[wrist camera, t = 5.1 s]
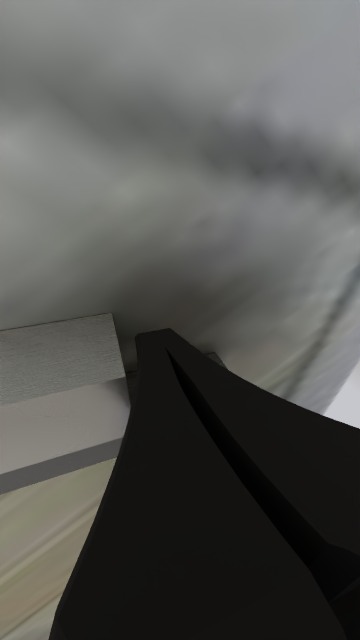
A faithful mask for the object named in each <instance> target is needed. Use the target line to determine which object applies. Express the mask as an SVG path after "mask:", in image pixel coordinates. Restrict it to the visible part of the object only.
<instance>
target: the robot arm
mask: <svg viewBox="0 0 360 640" xmlns="http://www.w3.org/2000/svg"><path fill="white" fill-rule="evenodd" d="M135 341H136V350H137V358H138V365H137V376H136V383H135V389H134V395H133V400H132V405H131V410H130V414H129V418H128V422H127V426H126V429H125V433H124V436H123V440H122V443H121V446H120V450H119V453H118V456H117V459H116V462H115V465H114V468H113V471H112V474H111V476H110V479H109V482H108V485H107V487H106V490H105V493H104V495H103V498H102V501H101V503H100V506H99V509H98V511H97V514H96V517H95V519H94V522H93V524H92V527H91V529H90V532H89V534H88V536H87V539H86V541H85V543H84V546H83V548H82V550H81V553H80V555H79V557H78V560H77V562H76V564H75V567H74V569H73V571H72V574H71V576H70V578H69V581H68V583H67V585H66V588H65V590H64V592H63V595H62V597H61V599H60V602H59V604H58V606H57V609H56V612H55V616H54V620H53V624H52V628H51V632H50V636H49V640H360V429H359V428H356V427H353V426H350V425H348V424H345V423H342V422H339V421H336V420H333V419H331V418H328V417H325V416H323V415H320V414H318V413H315V412H313V411H310V410H308V409H305V408H303V407H300V406H298V405H296V404H294V403H291V402H289V401H287V400H284V399H282V398H280V397H278V396H276V395H273V394H271V393H269V392H267V391H265V390H263V389H261V388H259V387H257V386H256V385H254V384H252V383H250V382H248V381H246V380H244V379H242V378H241V377H239V376H237V375H235V374H234V373H232V372H231V371H229V370H227V369H226V368H224V367H222V366H221V365H219V364H218V363H216V362H215V361H213V360H212V359H210V358H209V357H208V356H206V355H205V354H203V353H202V352H200V351H199V350H198V349H196V348H195V347H194V346H192V345H191V344H190V343H188V342H187V341H186V340H185V339H183V338H182V337H181V336H179V335H178V334H177V333H175V332H174V331H173V330H172V329H170V328H167V329H162V330H157V331H151V332H146V333H141V334H138V335H137V336H136V337H135Z"/></svg>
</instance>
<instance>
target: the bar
mask: <svg viewBox="0 0 360 640" xmlns="http://www.w3.org/2000/svg"><path fill="white" fill-rule="evenodd" d="M130 410H131V406H130V400H129V394H128V388H127V382H126V376H125V371H124V367H123V362H122V358H121V353H120V349H119V344H118V340H117V335H116V331H115V326H114V322H113V317H112V313H108V314H102V315H96V316H90V317H84V318H77V319H71V320H65V321H59V322H53V323H47V324H41V325H35V326H29V327H23V328H17V329H11V330H5V331H0V474H3V473H6V472H9V471H13V470H16V469H19V468H23V467H26V466H29V465H33V464H36V463H39V462H42V461H46V460H49V459H52V458H56V457H59V456H62V455H66V454H69V453H72V452H75V451H79V450H82V449H85V448H89V447H92V446H95V445H99V444H102V443H105V442H108V441H112V440H115V439H118V438H122V437H123V436H124V433H125V429H126V426H127V422H128V418H129V414H130Z"/></svg>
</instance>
